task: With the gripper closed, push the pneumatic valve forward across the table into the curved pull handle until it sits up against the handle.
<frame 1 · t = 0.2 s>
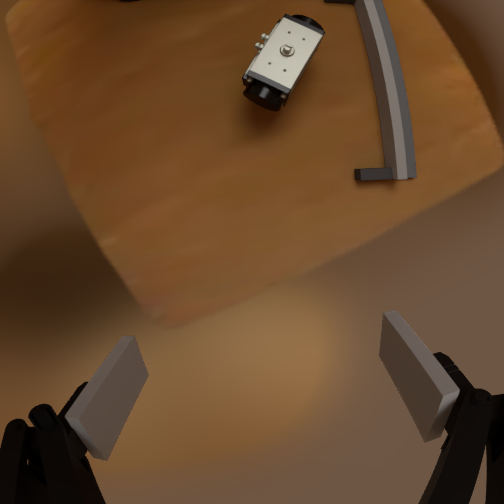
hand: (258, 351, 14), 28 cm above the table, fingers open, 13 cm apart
pneumatic valve: (277, 79, 35), on the table
curved pull handle: (377, 77, 34), on the table
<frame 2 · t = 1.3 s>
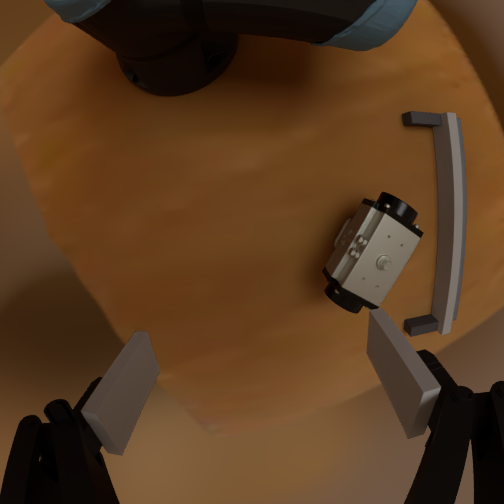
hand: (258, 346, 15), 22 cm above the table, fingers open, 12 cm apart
pneumatic valve: (347, 234, 36), on the table
curved pull handle: (442, 225, 35), on the table
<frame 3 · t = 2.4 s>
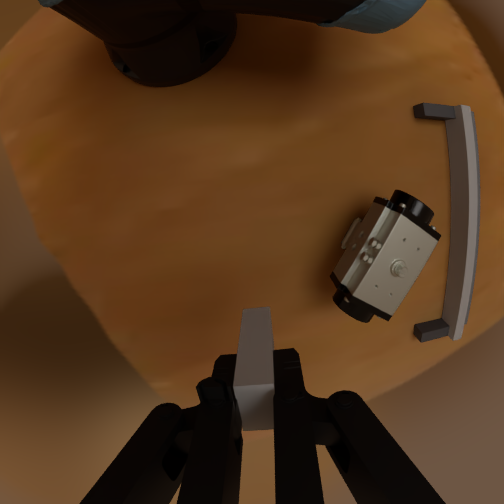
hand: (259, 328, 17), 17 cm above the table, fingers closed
pneumatic valve: (355, 234, 33), on the table
curved pull handle: (455, 225, 32), on the table
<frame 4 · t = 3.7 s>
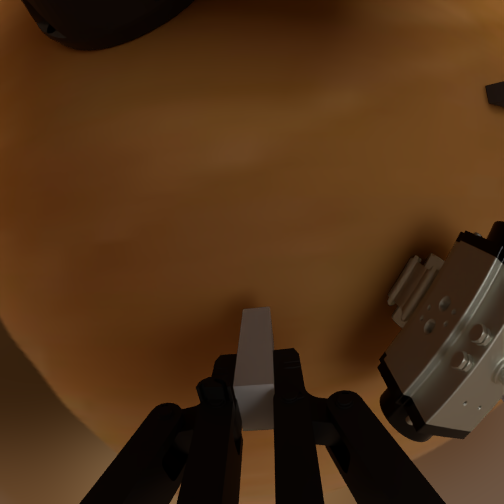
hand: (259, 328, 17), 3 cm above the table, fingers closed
pneumatic valve: (408, 281, 20), on the table
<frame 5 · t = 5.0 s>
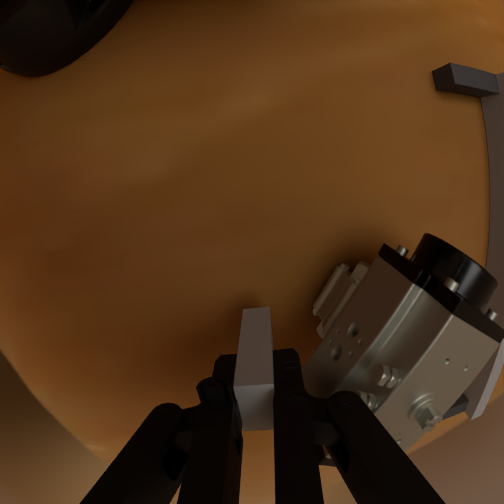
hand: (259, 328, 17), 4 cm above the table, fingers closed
pneumatic valve: (337, 289, 20), on the table
curved pull handle: (492, 262, 19), on the table
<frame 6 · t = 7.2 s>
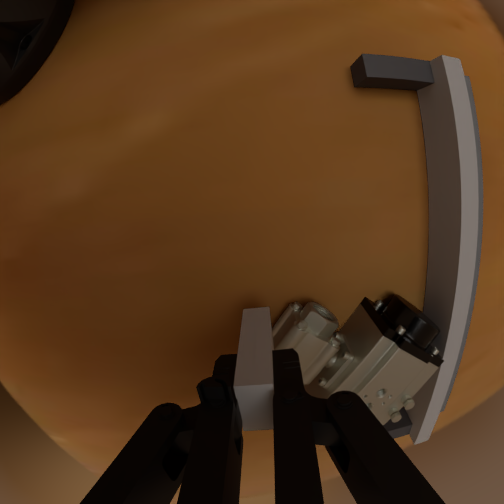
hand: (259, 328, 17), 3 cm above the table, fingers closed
pneumatic valve: (275, 334, 18), point 3 cm above the table, touching gripper
curved pull handle: (434, 277, 19), on the table
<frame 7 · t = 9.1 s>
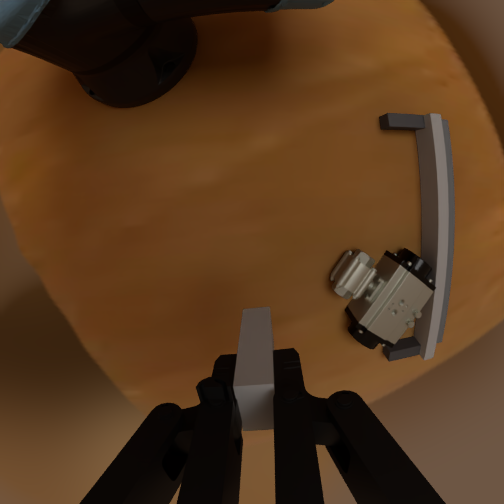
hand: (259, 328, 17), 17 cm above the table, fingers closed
pneumatic valve: (340, 266, 31), point 3 cm above the table
curved pull handle: (426, 240, 32), on the table
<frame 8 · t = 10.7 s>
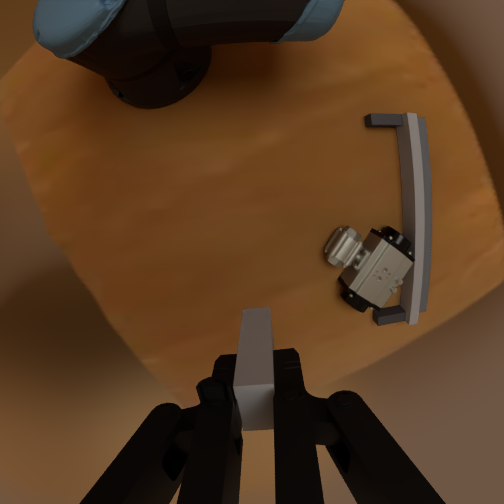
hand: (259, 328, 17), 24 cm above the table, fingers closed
pneumatic valve: (332, 240, 37), point 3 cm above the table
curved pull handle: (407, 220, 39), on the table
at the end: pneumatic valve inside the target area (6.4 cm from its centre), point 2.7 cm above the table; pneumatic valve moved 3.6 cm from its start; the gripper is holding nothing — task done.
